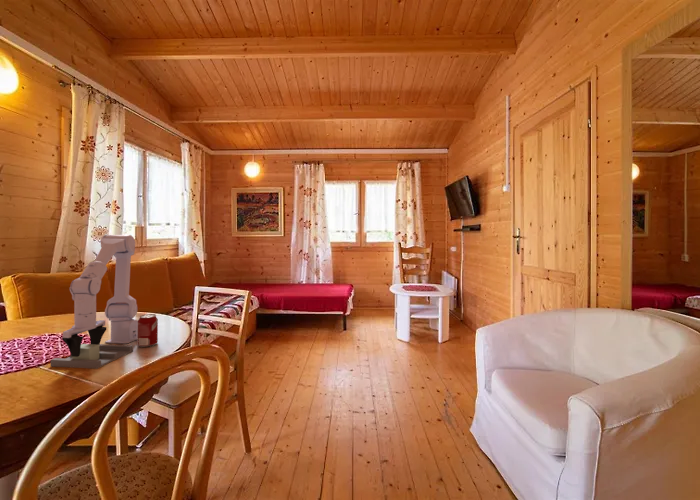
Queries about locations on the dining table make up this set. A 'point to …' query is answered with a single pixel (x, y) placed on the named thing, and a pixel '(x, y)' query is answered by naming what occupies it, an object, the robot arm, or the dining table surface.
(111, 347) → the ribbed grey tray
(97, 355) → the plug block
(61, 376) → the dining table surface
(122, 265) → the robot arm
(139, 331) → the soda can
